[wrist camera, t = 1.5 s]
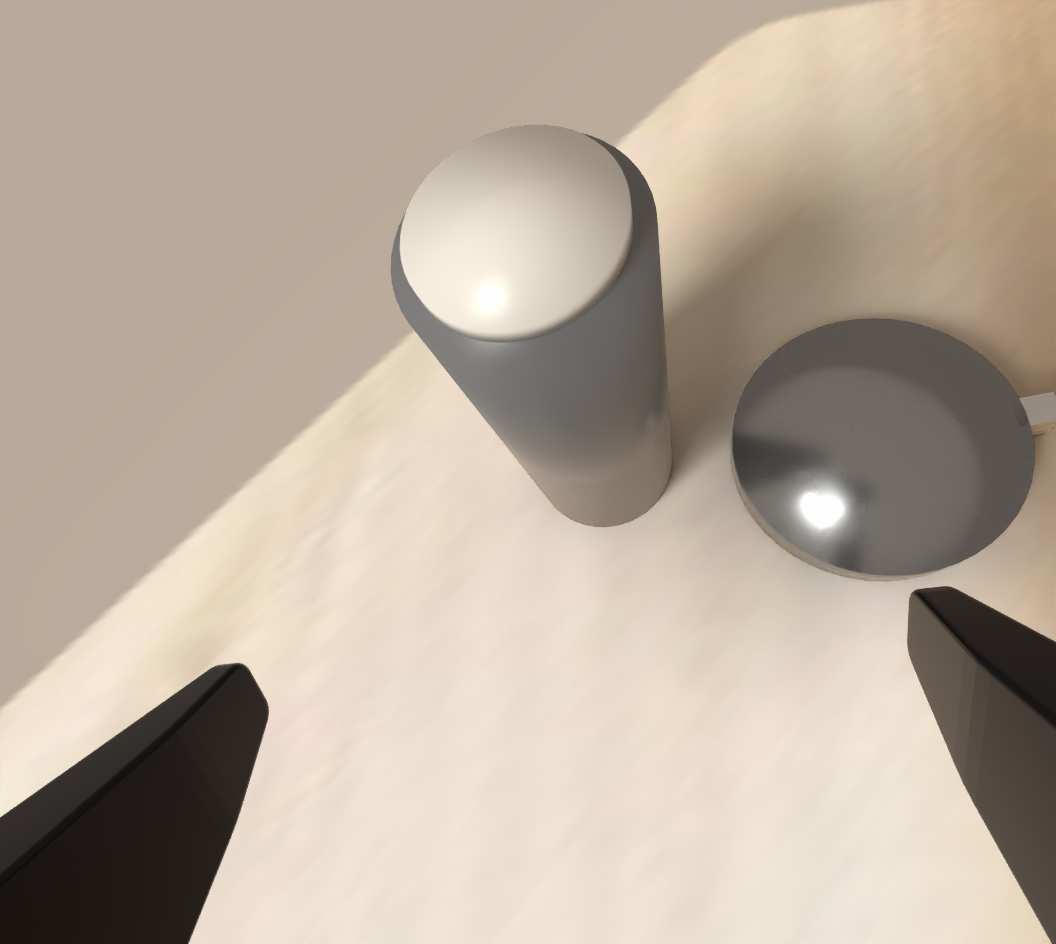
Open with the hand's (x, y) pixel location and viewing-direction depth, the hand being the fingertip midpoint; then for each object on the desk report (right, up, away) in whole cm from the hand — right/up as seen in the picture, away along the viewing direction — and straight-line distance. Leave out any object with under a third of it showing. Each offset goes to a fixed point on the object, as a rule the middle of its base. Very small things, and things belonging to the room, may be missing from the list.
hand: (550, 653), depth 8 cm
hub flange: (+11, +3, +12) cm, 17 cm away
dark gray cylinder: (+2, +3, +14) cm, 15 cm away
